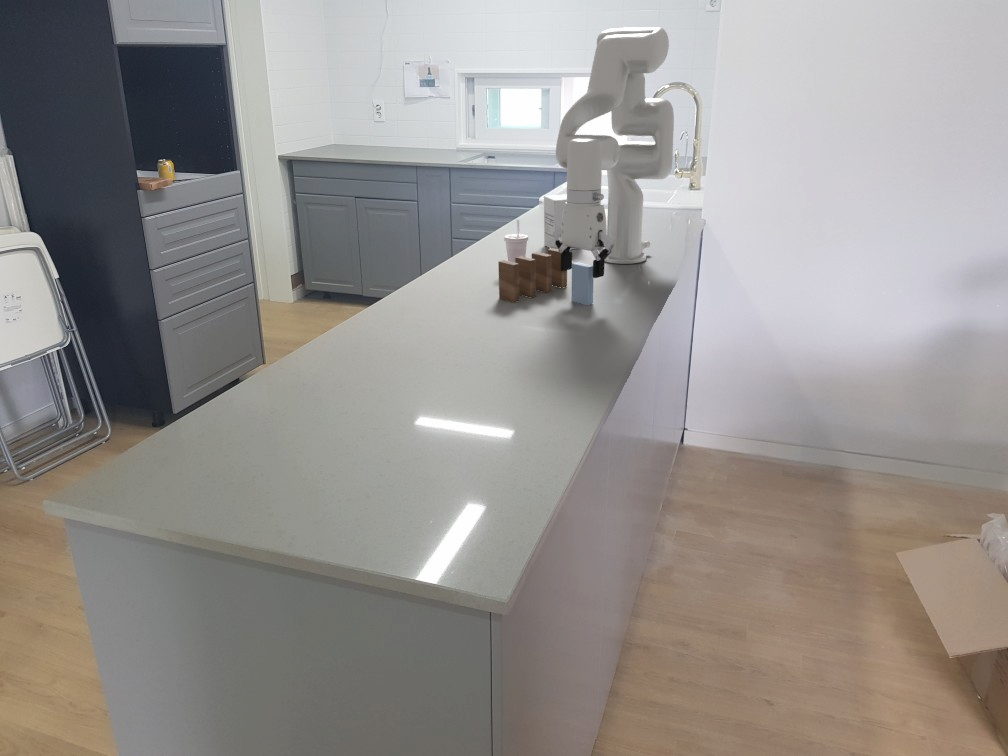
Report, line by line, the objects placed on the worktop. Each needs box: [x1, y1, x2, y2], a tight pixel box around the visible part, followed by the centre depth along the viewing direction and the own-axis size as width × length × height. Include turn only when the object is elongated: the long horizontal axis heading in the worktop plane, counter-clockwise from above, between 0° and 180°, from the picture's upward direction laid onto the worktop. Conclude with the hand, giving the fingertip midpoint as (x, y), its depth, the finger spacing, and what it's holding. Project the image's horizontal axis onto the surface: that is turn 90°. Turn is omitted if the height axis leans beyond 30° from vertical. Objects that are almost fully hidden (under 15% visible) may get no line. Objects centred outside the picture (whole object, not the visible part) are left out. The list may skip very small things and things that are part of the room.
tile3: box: [531, 251, 553, 294], centre depth 190 cm, size 2×5×9 cm, turn 43°
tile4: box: [515, 256, 537, 298], centre depth 186 cm, size 2×5×9 cm, turn 43°
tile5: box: [497, 259, 520, 304], centre depth 183 cm, size 2×5×9 cm, turn 43°
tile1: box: [571, 261, 594, 306], centre depth 180 cm, size 2×5×9 cm, turn 43°
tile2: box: [546, 248, 568, 289], centre depth 193 cm, size 2×5×9 cm, turn 43°
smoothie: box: [503, 219, 529, 263], centre depth 205 cm, size 6×6×14 cm
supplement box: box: [543, 193, 577, 250], centre depth 232 cm, size 9×9×15 cm
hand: (582, 273), depth 178 cm, fingers open, 9 cm apart
